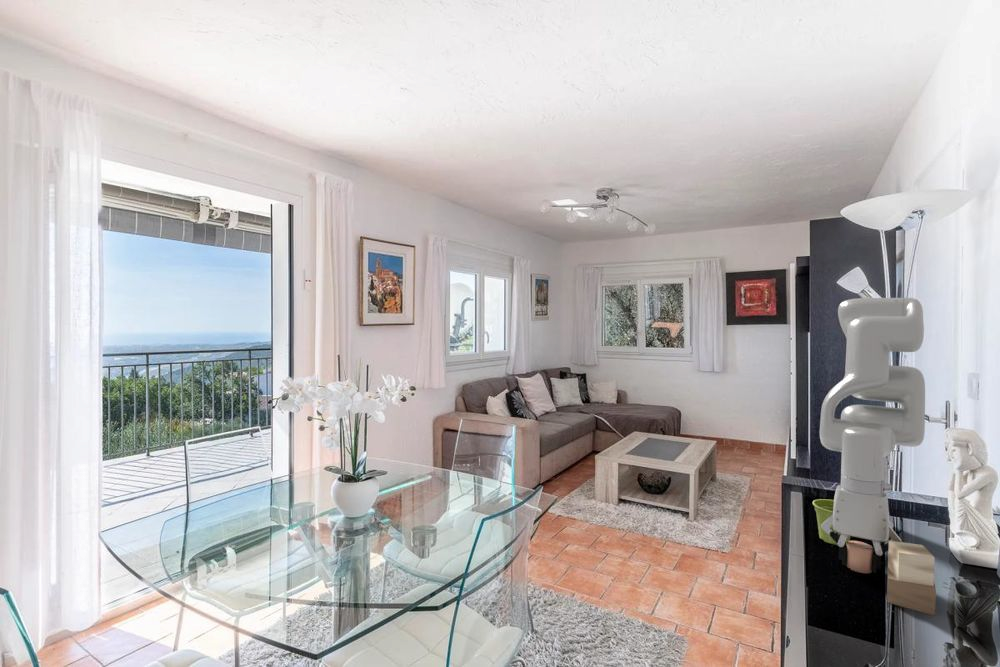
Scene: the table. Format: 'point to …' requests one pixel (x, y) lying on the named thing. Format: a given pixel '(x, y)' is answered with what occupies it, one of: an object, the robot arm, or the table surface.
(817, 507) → the plant pot
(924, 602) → the walnut block
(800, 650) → the table surface
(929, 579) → the beech block
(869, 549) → the peach rounded solid
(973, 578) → the table surface
